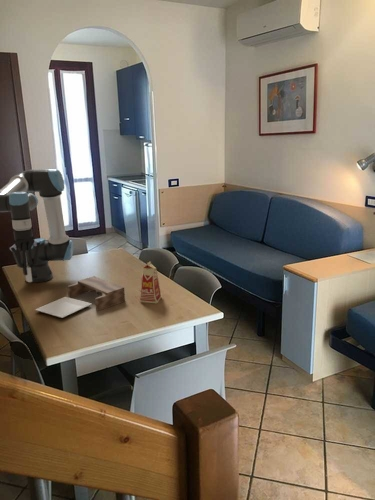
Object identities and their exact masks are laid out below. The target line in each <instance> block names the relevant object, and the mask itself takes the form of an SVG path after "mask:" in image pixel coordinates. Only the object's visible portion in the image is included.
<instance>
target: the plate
mask: <svg viewBox="0 0 375 500" xmlns="http://www.w3.org/2000/svg"><path fill="white" fill-rule="evenodd" d="M92 304H93V303H92V302H91V303H90V302H87V301H83V300H79V299H76V298H73V297H71V298H70V297H69V296H64V297H61V298H59V299H56V300H55V301H51V302H49V303H47V304H45V305H43V306H39V307H37V308H36V309H34V311H36V312H40V313H43V314H46V315H50V316H53V317H57V318H60V319H64V318H67V317H69V316H71V315H73V314H75V313H77V312H79V311H81V310H83V309H86V308H88V307H90V306H92Z"/></svg>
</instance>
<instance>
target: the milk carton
mask: <svg viewBox="0 0 375 500" xmlns="http://www.w3.org/2000/svg"><path fill="white" fill-rule="evenodd" d="M157 271H158V270H157V267H155V266H154V265H153V264H152V261H149V262H147V263H146V265H145V266H144V267H143V268H142V274H141V288H140V289H141V290H140V296H139V300H138V301H139V303H147V304H149V303H151V304H158V303H159V301H160V300H161V298H162V293H161V286H160V282H159V281H160V280H159V276H158V275H159V274H158V272H157Z"/></svg>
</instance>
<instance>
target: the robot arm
mask: <svg viewBox="0 0 375 500" xmlns="http://www.w3.org/2000/svg"><path fill="white" fill-rule="evenodd" d="M63 191H65V182H64V177H63V174H62V173H61V171H60V170H59V169H56V168H54V169H52V168H42V169H26V170H23V171H20V172H18V173H16V174H15V175H13V176H12V177H10V179H9V180H8V182H7V183H6V184H5V185H4V186H3V187H1V188H0V213H8V212H9V213H10V215H11V223H12V229H13V238H14V241H13V245H12V246H8V249H9V251H11V253H12V255H13V258H14V261H15V263H16V264H17V267H18V268H21V269H22V273H23V275H24V277H25V278H24V279H25V281H26V282H28V283H43V282H47V281H50V280H52V279H53V277H54V275H53V272H52V269H51V268H50V265H49V262H56V261H57V262H58V261H59V262H61V261H62V262H64V261H70V260H71V259H72V257H73V254H74V241H73V240H71V239H70V237H69V235H67V234H66V228H65V222H64V215H63V210H62V202H61V195H62V194H63ZM33 193H39V197H40V198H42V199H43V205H44V211H45V215H46V216H45V217H46V220H47V221H46V222H47V226H48V227H47V228H48V232H49V237H48V238H47V240H46V238H44V237H41V238H40V237H39V238H35V239H34V232H33V228H32V227H33V226H32V219H31V218H32V217H31V211H34V210H35V209H36V208H37V206H38V204H39V199H38V197H37V196H36V195H35V194H33ZM17 249H18V251H19V253H18V251H17Z"/></svg>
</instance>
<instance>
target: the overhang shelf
mask: <svg viewBox="0 0 375 500" xmlns="http://www.w3.org/2000/svg"><path fill="white" fill-rule="evenodd" d="M93 291H96V293H97V294H98V295H100V294H103V295H101V296H97V297H95V298H94V302H95V310H96V311H98V312H99V311H101V310H104V309H106V308H110V307H112V306H116V305H118V304H121V303H124V302H125V301H126V296H125V295H126V294H125V287H124V286H121V285H119V284H116V283H114V282H111V281H108V280H105V279H103V278H100V277H97V276H95V275H93V276H89V277H87V278H83V279H79V280H77V283H73V284H70V285H69V284H68V285H67V294H68V296H67V297H69V298H73V297H76V296H80V295H83V294H86V293H89V292H93Z"/></svg>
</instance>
